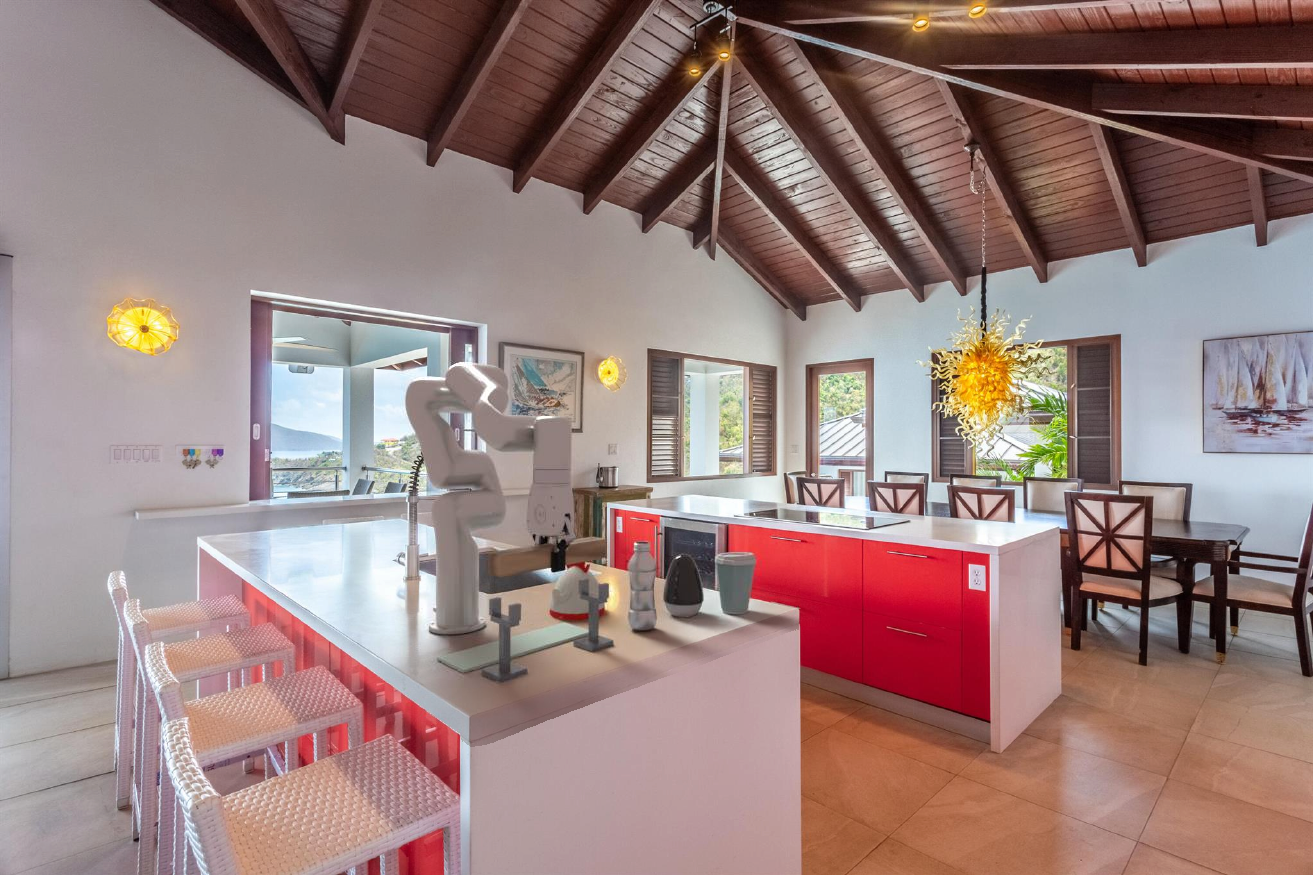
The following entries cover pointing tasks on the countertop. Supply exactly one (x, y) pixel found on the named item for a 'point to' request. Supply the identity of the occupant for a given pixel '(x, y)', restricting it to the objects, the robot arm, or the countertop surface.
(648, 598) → the plastic bottle
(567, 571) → the kitchen timer
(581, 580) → the hook standards
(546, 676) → the countertop surface
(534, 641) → the mat
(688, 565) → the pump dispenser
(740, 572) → the disposable coffee cup
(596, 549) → the rail
